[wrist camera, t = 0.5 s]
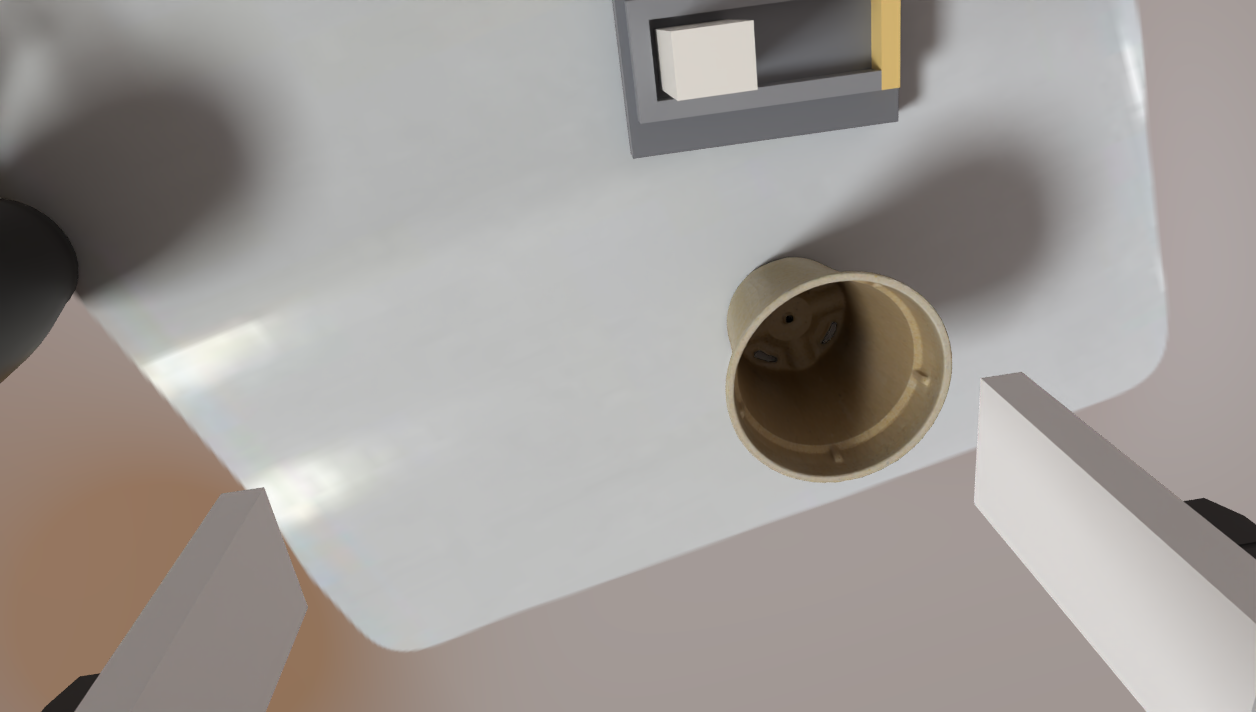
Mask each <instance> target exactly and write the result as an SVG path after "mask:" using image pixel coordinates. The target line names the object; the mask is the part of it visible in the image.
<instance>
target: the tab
mask: <svg viewBox="0 0 1256 712" xmlns="http://www.w3.org/2000/svg"><path fill="white" fill-rule="evenodd" d="M654 33H655V43H656V52H657V62H658V71H659V81H660V89H661V90H663V91H664V92H666V93H667V94H669V95H670V96H671V97H673V98H674V99H676V100H677V101H681V100H688V99H695V98H702V97H709V96H717V95H724V94H731V93H738V92H745V91H753V90H758V87H757V70H756V53H755V36H754V20H726V19H724V20H717V21H710V22H702V23H695V24H688V25H680V26H673V27H666V28H658V29H654Z"/></svg>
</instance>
